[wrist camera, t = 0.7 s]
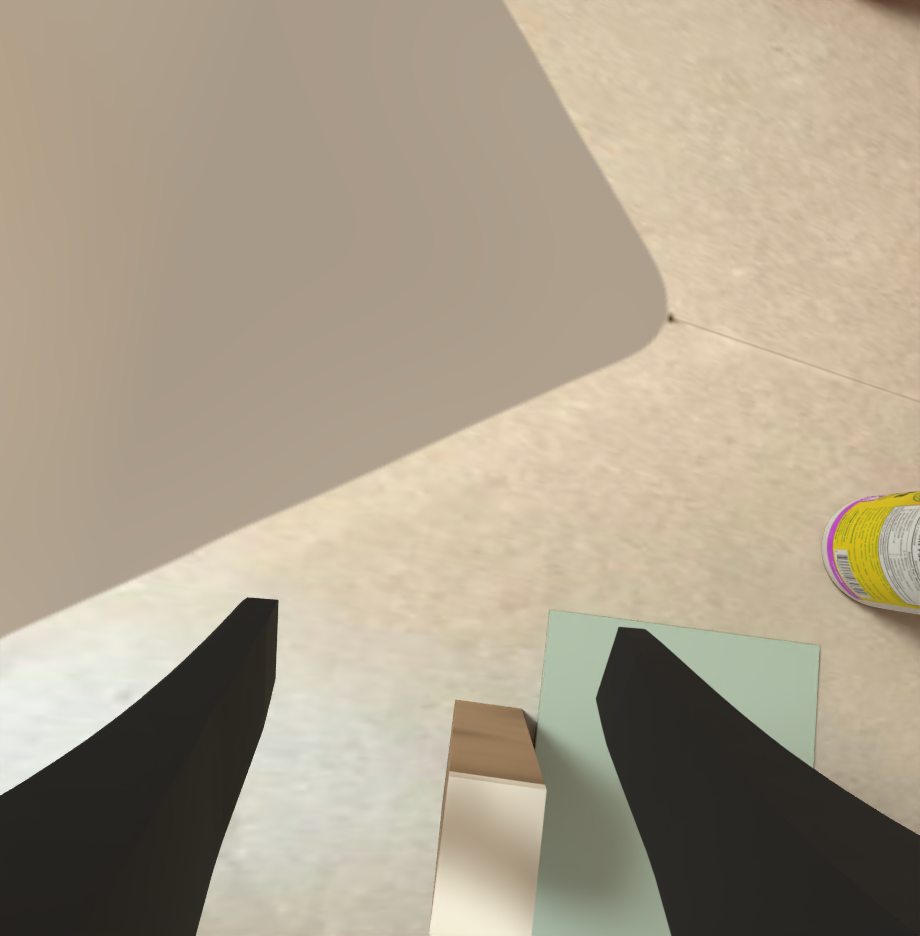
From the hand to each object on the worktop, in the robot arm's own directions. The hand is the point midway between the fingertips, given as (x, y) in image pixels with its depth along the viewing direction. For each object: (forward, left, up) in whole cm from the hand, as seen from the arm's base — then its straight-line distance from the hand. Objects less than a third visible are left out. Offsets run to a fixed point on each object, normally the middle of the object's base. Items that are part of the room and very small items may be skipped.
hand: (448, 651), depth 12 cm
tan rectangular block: (-10, -3, -23) cm, 26 cm away
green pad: (-10, -14, -23) cm, 29 cm away
